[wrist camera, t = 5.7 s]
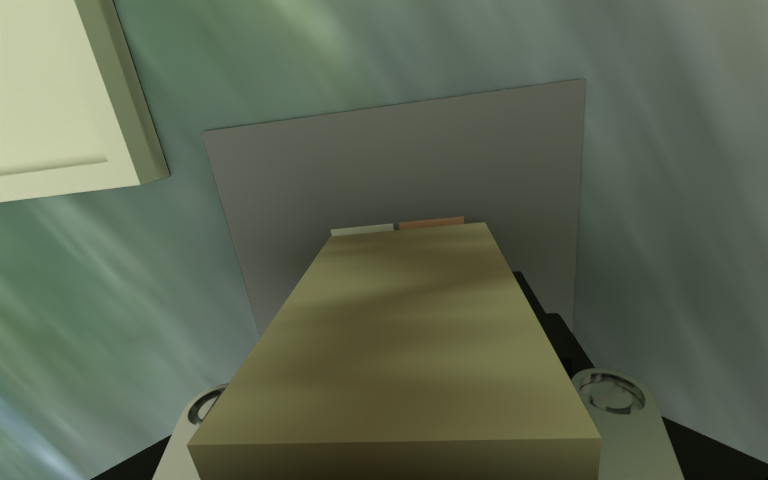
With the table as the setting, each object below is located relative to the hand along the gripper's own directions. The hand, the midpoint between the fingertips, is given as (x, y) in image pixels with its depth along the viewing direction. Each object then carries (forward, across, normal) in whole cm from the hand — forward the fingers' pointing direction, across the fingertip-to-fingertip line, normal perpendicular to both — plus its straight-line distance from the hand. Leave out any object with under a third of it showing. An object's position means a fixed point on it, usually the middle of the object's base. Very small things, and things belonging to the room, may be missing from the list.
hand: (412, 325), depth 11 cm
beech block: (+2, 0, 0) cm, 2 cm away
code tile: (+3, 0, 0) cm, 3 cm away
